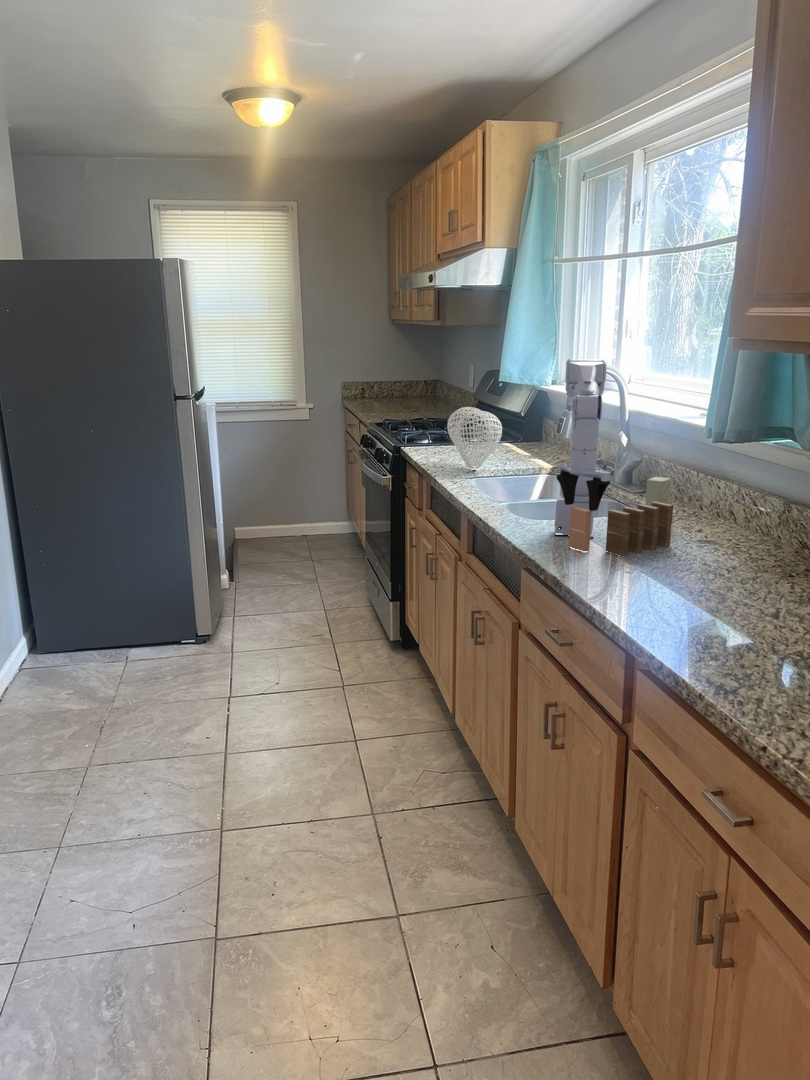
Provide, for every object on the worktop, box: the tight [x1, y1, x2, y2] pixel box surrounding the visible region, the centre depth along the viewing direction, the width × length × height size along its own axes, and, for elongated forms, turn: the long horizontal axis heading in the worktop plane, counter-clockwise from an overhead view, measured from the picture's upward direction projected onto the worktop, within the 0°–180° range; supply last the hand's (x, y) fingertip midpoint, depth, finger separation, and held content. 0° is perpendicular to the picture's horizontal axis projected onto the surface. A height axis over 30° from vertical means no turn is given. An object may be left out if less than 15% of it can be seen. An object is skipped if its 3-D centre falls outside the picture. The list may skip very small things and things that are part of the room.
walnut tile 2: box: [636, 503, 659, 551], centre depth 188 cm, size 2×5×10 cm, turn 34°
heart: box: [446, 406, 503, 469], centre depth 284 cm, size 28×16×22 cm, turn 12°
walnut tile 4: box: [605, 509, 630, 557], centre depth 182 cm, size 2×5×10 cm, turn 34°
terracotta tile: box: [568, 507, 591, 551], centre depth 185 cm, size 2×5×10 cm, turn 34°
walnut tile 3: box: [622, 506, 645, 554], centre depth 185 cm, size 2×5×10 cm, turn 34°
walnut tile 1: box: [652, 501, 674, 548], centre depth 190 cm, size 2×5×10 cm, turn 34°
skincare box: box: [644, 476, 672, 506], centre depth 209 cm, size 6×4×12 cm
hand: (581, 507), depth 184 cm, fingers open, 7 cm apart
